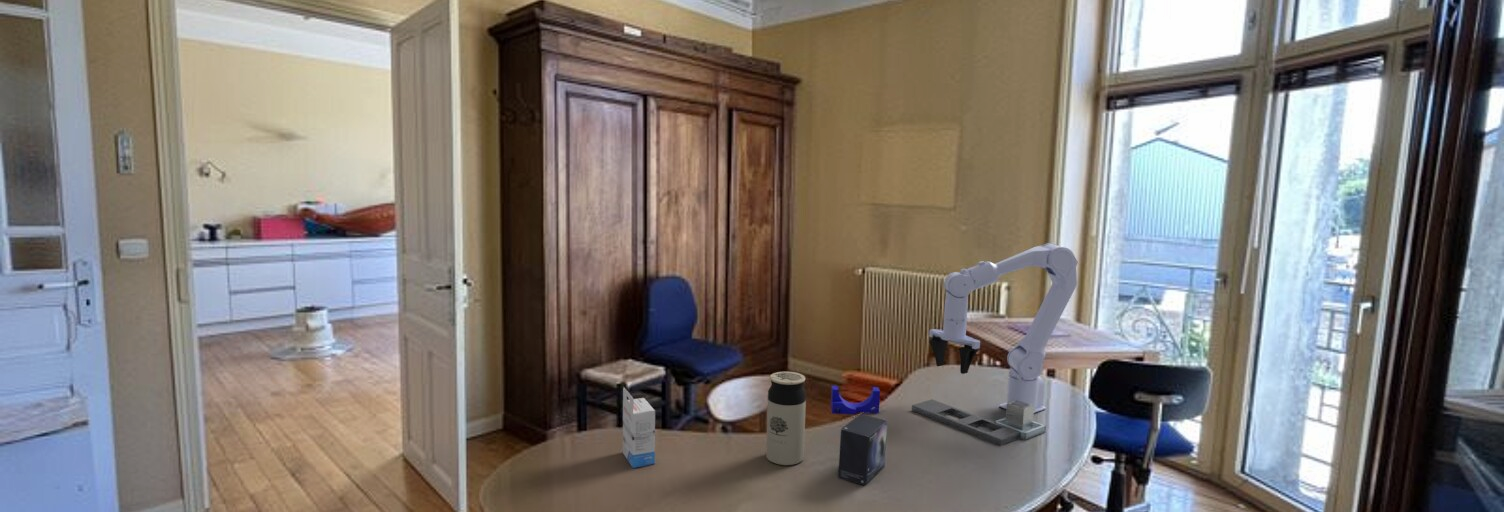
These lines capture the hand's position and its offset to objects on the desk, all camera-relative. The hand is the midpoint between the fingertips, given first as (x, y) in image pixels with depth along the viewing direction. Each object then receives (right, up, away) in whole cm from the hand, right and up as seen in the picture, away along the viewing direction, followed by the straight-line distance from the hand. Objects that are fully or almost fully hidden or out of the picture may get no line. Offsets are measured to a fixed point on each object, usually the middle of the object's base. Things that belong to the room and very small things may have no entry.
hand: (951, 369), depth 175 cm
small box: (-30, -15, -39) cm, 51 cm away
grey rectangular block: (+12, -12, -15) cm, 22 cm away
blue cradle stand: (-26, -10, -4) cm, 29 cm away
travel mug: (-46, -14, -33) cm, 58 cm away
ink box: (-77, -13, -35) cm, 85 cm away
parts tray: (+12, -12, -14) cm, 22 cm away
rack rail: (0, -12, -11) cm, 16 cm away
